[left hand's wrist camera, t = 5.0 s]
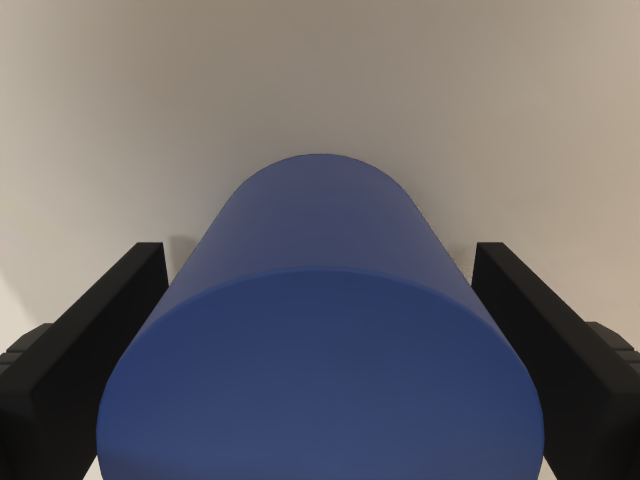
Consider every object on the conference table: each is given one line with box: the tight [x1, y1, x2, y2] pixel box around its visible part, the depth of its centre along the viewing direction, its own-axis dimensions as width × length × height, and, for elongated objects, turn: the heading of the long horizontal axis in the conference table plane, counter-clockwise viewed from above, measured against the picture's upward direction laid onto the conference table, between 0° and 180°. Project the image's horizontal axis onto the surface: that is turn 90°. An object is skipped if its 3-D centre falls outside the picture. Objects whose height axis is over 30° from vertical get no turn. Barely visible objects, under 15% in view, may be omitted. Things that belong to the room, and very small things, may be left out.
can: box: [96, 154, 545, 480], centre depth 11 cm, size 7×7×8 cm
